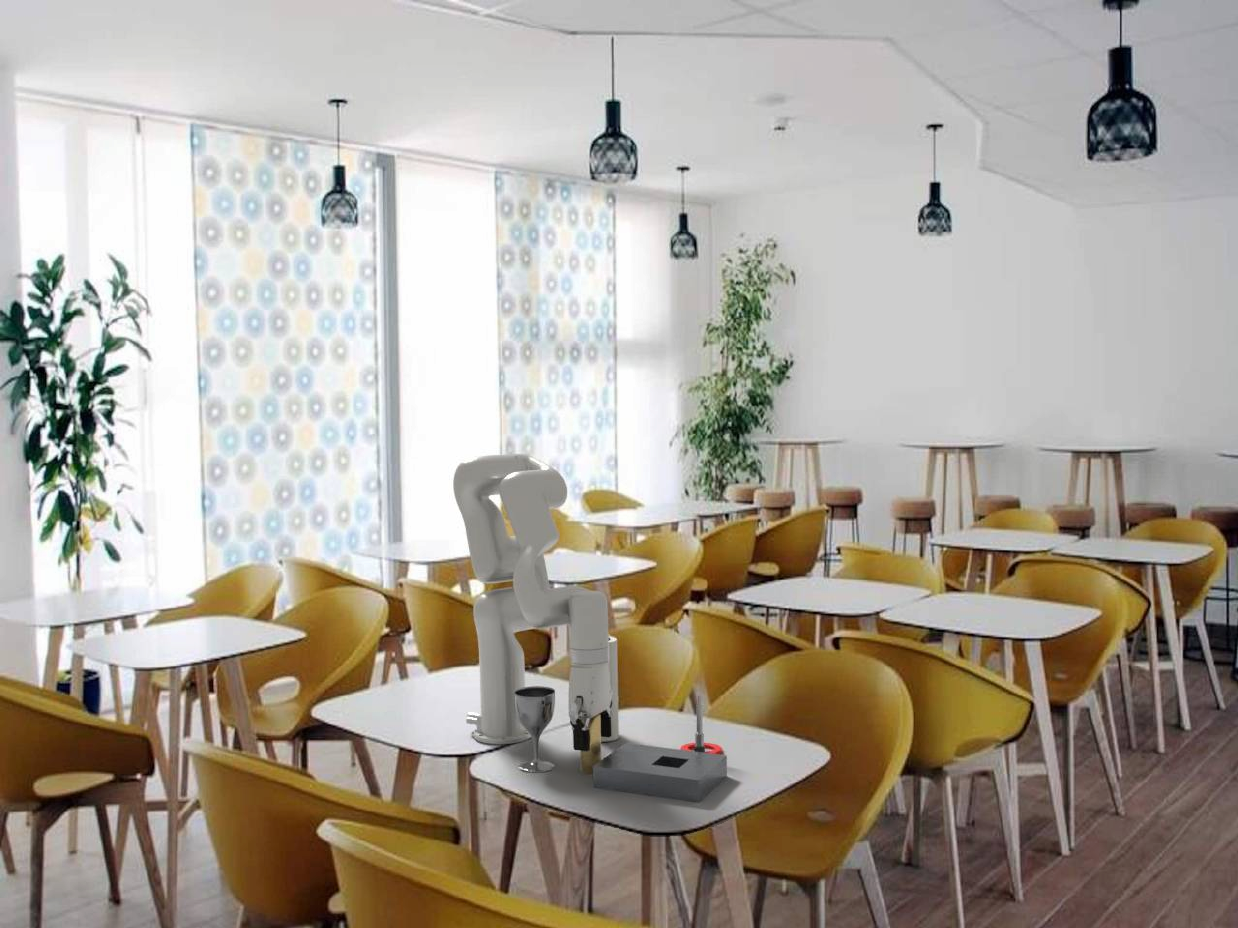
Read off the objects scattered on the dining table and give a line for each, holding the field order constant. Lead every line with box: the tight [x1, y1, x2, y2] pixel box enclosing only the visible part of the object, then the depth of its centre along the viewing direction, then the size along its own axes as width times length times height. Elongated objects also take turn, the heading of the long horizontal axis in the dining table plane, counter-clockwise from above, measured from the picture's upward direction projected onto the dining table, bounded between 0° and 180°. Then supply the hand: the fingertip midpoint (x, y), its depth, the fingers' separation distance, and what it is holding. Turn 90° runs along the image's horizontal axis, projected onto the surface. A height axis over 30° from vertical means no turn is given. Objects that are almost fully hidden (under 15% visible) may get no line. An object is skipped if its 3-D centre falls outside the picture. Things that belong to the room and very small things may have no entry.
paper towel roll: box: [601, 634, 620, 743], centre depth 249 cm, size 7×6×21 cm
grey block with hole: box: [592, 742, 728, 803], centre depth 222 cm, size 21×15×4 cm
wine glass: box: [515, 685, 556, 773], centre depth 231 cm, size 8×8×15 cm
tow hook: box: [680, 693, 723, 755], centre depth 239 cm, size 8×13×9 cm
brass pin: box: [580, 713, 602, 775], centre depth 229 cm, size 4×4×11 cm
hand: (592, 743), depth 228 cm, fingers open, 9 cm apart
